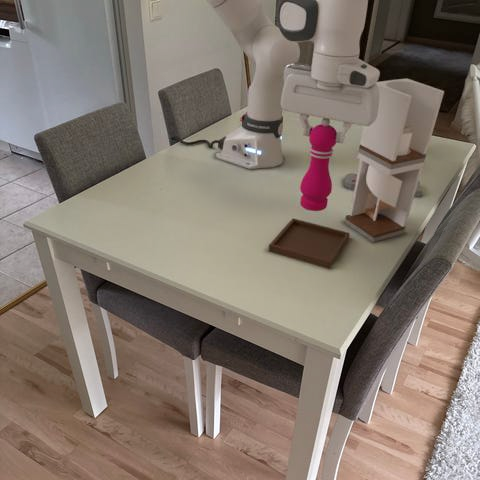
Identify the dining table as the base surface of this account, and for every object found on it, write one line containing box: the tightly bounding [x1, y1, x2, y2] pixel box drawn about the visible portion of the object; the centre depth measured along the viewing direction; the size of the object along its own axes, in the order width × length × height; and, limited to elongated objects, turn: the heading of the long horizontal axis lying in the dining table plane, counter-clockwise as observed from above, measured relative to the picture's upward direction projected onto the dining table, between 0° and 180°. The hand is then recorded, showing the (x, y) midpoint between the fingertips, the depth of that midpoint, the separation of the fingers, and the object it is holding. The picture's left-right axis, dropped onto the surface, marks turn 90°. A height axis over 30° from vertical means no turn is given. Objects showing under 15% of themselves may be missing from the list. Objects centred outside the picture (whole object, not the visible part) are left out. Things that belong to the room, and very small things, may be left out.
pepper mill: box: [299, 118, 338, 212], centre depth 109 cm, size 7×7×20 cm
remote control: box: [344, 172, 422, 198], centre depth 149 cm, size 8×23×2 cm, turn 79°
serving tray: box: [268, 217, 350, 269], centre depth 121 cm, size 16×16×2 cm
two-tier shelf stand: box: [344, 78, 445, 243], centre depth 119 cm, size 11×11×35 cm
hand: (323, 138), depth 105 cm, fingers closed on pepper mill, 6 cm apart
